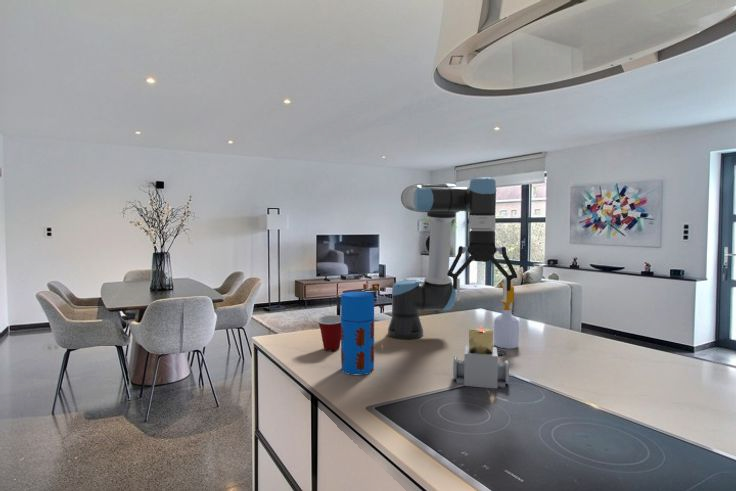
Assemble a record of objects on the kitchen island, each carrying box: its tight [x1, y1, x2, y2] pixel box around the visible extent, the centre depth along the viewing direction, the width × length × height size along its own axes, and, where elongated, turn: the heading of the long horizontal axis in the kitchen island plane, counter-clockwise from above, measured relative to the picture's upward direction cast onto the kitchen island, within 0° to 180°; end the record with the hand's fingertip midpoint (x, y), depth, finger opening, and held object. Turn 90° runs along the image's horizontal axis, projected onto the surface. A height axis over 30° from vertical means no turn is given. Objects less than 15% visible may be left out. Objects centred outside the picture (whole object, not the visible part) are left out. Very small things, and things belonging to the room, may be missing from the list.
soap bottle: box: [493, 282, 520, 350], centre depth 169 cm, size 9×9×25 cm
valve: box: [468, 326, 494, 354], centre depth 131 cm, size 7×7×9 cm
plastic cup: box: [316, 314, 341, 351], centre depth 165 cm, size 11×11×12 cm
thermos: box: [340, 291, 375, 375], centre depth 141 cm, size 11×11×25 cm
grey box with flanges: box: [452, 344, 510, 389], centre depth 131 cm, size 16×9×10 cm, turn 76°
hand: (481, 300), depth 130 cm, fingers open, 13 cm apart
